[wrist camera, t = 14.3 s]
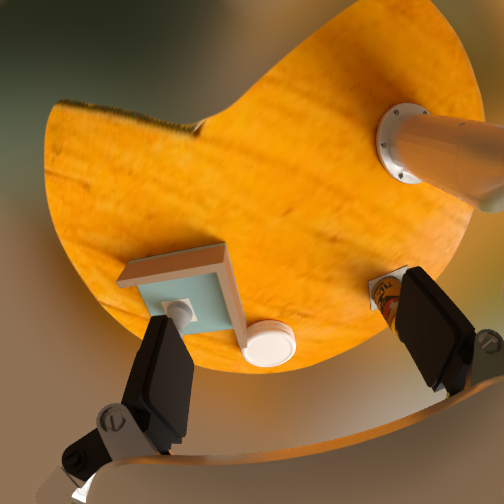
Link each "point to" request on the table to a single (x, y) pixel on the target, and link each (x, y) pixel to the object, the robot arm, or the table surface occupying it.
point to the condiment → (387, 295)
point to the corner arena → (191, 287)
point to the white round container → (269, 343)
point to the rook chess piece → (180, 315)
